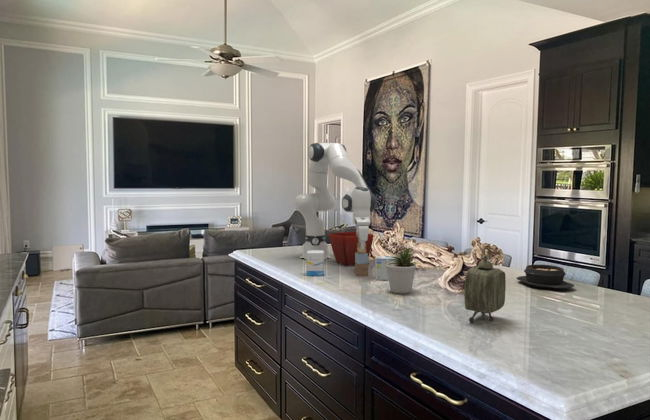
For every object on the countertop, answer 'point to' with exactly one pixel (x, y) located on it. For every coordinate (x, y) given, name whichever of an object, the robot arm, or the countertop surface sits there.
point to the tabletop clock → (484, 288)
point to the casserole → (545, 277)
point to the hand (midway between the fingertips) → (361, 247)
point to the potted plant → (401, 272)
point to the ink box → (315, 263)
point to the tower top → (361, 258)
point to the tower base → (361, 269)
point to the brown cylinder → (361, 251)
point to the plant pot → (347, 246)
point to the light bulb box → (382, 267)
